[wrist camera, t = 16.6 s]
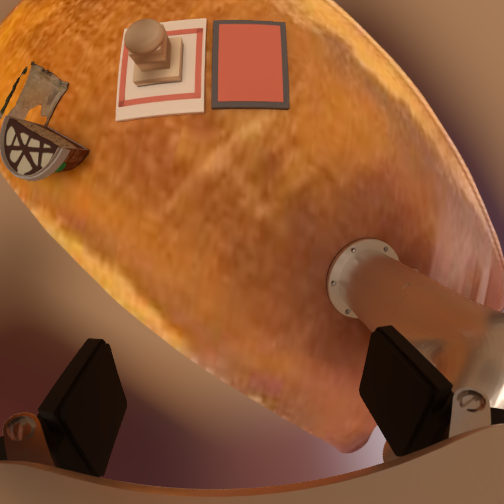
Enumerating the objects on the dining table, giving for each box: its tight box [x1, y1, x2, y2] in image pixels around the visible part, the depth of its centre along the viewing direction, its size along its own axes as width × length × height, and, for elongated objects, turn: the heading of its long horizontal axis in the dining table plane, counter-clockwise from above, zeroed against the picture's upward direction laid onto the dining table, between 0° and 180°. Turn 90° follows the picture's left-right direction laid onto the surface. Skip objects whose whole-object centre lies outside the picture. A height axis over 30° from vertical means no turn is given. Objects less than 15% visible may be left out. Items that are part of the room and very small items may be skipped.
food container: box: [0, 116, 90, 181], centre depth 29 cm, size 12×6×10 cm, turn 58°
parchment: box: [0, 61, 69, 126], centre depth 30 cm, size 12×13×1 cm
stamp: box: [124, 19, 184, 87], centre depth 26 cm, size 6×6×11 cm
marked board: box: [116, 18, 207, 122], centre depth 32 cm, size 12×15×1 cm
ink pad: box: [212, 20, 289, 110], centre depth 33 cm, size 10×14×1 cm
